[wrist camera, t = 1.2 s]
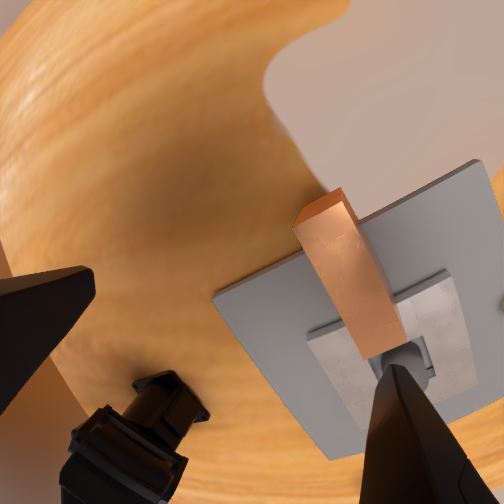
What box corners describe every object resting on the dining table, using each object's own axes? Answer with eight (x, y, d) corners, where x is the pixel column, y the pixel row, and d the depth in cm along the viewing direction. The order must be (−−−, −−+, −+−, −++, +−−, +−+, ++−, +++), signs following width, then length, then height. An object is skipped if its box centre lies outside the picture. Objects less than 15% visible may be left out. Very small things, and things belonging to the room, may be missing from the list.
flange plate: (474, 376, 18) (491, 421, 13) (360, 421, 21) (359, 469, 17) (397, 156, 15) (421, 159, 11) (249, 237, 19) (220, 266, 14)
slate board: (330, 451, 25) (325, 484, 22) (216, 292, 22) (192, 321, 19) (520, 375, 18) (536, 405, 14) (473, 158, 15) (504, 163, 11)
